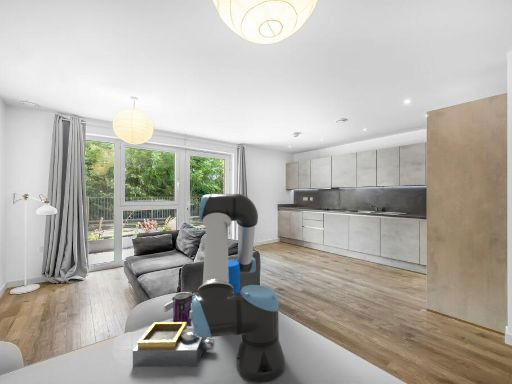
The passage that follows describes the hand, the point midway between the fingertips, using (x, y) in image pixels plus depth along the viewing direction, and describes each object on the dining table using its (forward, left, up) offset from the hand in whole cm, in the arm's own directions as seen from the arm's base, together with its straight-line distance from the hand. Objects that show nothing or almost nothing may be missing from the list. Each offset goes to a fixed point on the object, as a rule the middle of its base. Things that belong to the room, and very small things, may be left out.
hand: (176, 311), depth 97 cm
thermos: (-15, -14, -7) cm, 21 cm away
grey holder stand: (-13, +9, -7) cm, 17 cm away
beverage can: (0, -3, -7) cm, 7 cm away
